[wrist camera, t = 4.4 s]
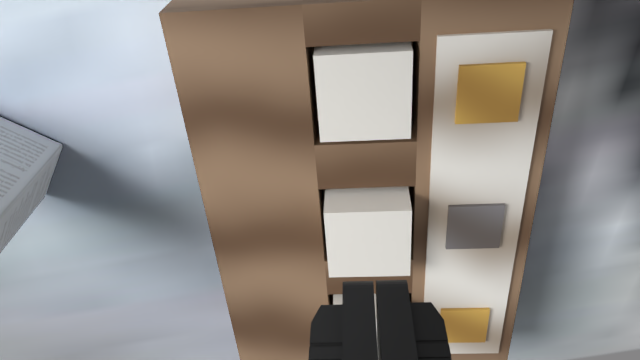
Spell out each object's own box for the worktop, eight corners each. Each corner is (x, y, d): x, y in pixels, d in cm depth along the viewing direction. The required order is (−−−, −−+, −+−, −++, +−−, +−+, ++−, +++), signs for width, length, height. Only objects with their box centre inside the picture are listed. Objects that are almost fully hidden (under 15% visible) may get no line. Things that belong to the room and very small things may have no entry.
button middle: (325, 188, 26) (323, 213, 24) (408, 185, 26) (412, 210, 24) (330, 250, 28) (328, 277, 27) (406, 249, 28) (410, 275, 26)
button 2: (315, 39, 23) (313, 55, 22) (408, 34, 23) (413, 50, 21) (322, 121, 26) (320, 142, 24) (406, 118, 25) (410, 138, 24)
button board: (184, -13, 25) (155, 16, 21) (543, -35, 23) (580, -10, 20) (252, 319, 37) (241, 374, 33) (491, 315, 35) (507, 372, 32)
